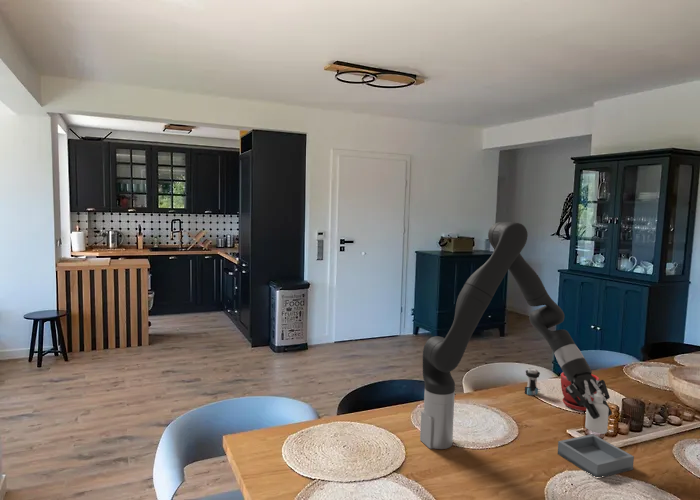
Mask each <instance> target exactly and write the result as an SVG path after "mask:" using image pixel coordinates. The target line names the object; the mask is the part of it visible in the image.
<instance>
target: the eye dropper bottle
mask: <svg viewBox="0 0 700 500" xmlns="http://www.w3.org/2000/svg"><path fill="white" fill-rule="evenodd" d="M592 404H594V406H595V408H596V409H597V411H598V413H599V415H600V417H598V418H597V419H593V418H592V417H591V415H590V413H589V412H588V410H587V409H586V411H585V424H584V427H585V429H586V430H588V431H590V432H593V433H597V434H602V435H605V434H607V433H608V427H609V425H608V424H609V416H608V414H609V408H610V407H609V408H608V407H607V406H606V405H605V404H603V395H601V393H600V391H599V390H598V391H597V394H594V400H593V401H592Z"/></svg>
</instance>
